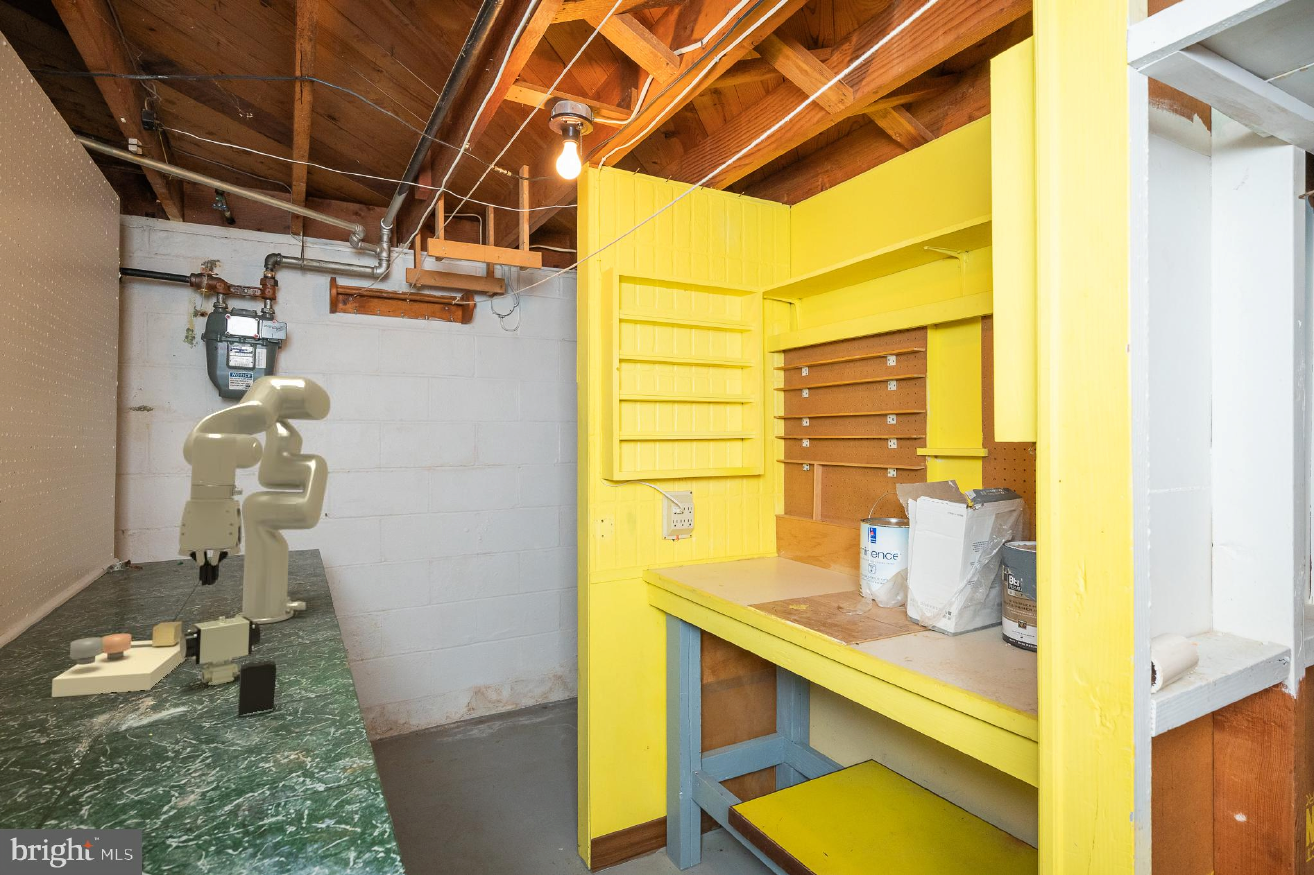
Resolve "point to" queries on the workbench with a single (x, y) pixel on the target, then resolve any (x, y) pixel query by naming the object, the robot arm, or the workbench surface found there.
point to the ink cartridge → (257, 687)
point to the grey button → (86, 649)
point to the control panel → (120, 671)
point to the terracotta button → (116, 645)
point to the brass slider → (166, 633)
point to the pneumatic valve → (219, 646)
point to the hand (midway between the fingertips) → (208, 584)
